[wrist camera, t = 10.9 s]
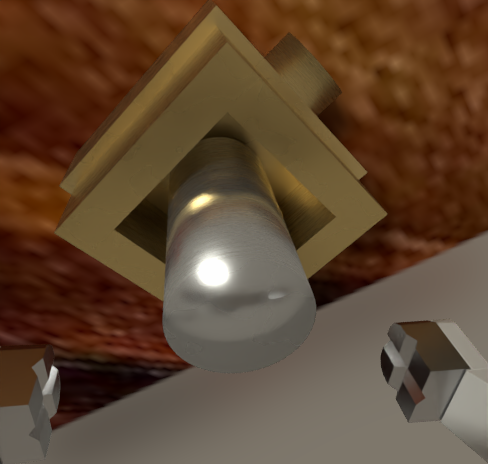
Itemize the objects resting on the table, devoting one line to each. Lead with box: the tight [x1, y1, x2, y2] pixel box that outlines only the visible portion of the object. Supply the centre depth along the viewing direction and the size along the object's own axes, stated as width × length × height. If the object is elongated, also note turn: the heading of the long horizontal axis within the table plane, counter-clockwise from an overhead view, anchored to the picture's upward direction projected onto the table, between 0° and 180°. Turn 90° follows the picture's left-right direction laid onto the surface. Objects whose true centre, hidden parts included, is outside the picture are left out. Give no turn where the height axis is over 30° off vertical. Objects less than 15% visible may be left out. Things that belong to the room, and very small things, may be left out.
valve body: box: [54, 0, 387, 301], centre depth 20 cm, size 13×10×8 cm
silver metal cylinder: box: [163, 137, 316, 373], centre depth 16 cm, size 4×4×9 cm
